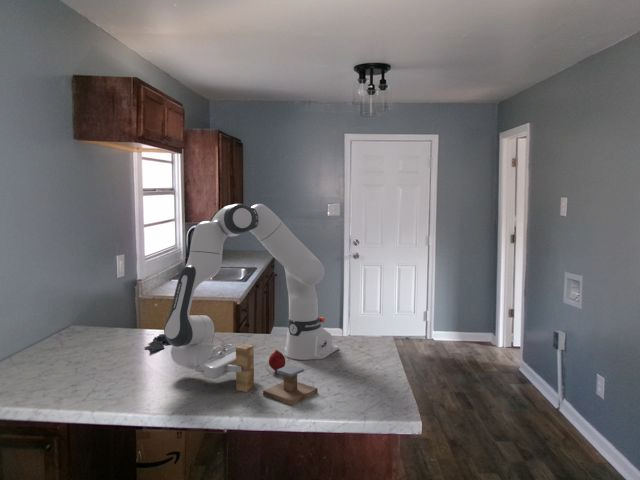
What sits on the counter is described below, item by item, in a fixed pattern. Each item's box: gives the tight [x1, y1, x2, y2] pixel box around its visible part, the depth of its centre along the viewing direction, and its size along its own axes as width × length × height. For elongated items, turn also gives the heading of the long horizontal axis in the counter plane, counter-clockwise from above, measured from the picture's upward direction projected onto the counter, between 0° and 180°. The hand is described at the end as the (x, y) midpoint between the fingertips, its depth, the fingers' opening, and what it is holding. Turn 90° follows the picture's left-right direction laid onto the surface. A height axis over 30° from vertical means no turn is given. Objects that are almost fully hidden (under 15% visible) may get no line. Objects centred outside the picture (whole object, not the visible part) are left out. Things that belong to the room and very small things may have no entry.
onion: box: [268, 348, 286, 373], centre depth 184 cm, size 6×6×8 cm
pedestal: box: [262, 364, 319, 406], centre depth 165 cm, size 12×12×8 cm
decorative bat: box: [143, 333, 171, 353], centre depth 218 cm, size 30×4×10 cm
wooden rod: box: [235, 343, 255, 393], centre depth 168 cm, size 4×4×14 cm
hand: (247, 366), depth 168 cm, fingers closed on wooden rod, 4 cm apart
